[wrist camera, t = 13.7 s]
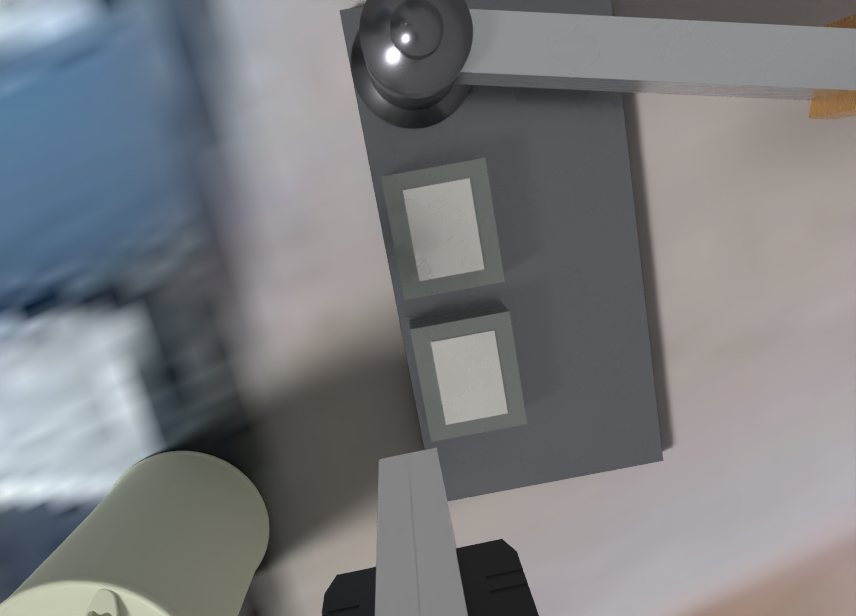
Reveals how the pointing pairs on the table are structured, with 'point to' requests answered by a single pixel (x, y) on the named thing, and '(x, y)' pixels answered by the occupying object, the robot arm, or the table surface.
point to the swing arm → (602, 55)
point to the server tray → (515, 273)
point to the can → (156, 546)
